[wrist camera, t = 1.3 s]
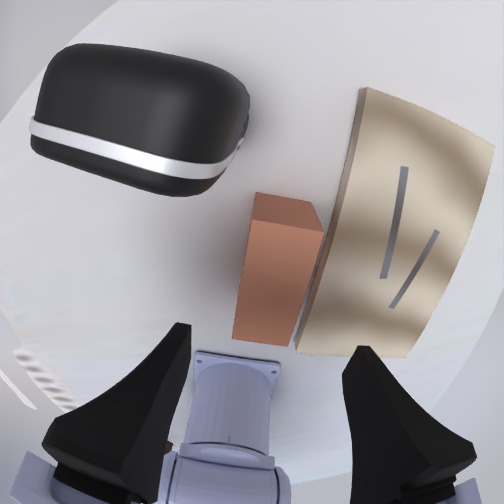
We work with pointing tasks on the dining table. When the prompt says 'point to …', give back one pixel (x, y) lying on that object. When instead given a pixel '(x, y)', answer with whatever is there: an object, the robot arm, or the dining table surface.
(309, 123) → the dining table surface
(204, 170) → the battery charger
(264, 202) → the block
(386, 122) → the board
